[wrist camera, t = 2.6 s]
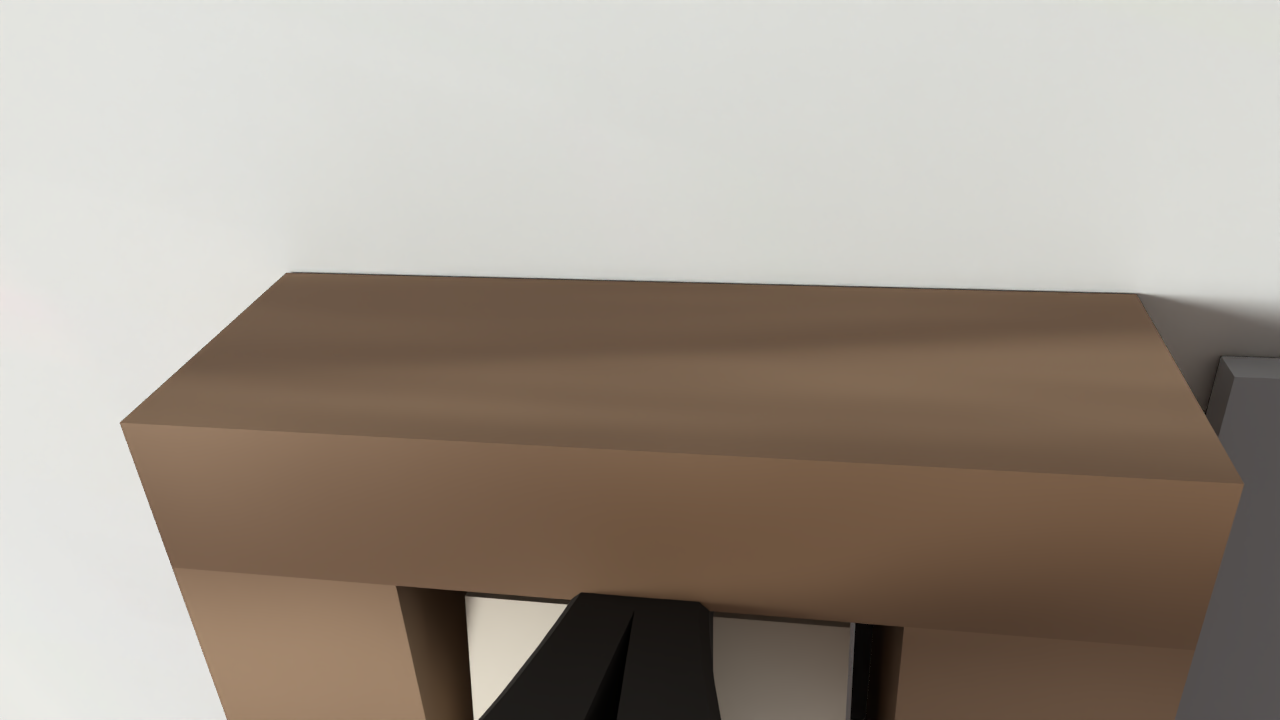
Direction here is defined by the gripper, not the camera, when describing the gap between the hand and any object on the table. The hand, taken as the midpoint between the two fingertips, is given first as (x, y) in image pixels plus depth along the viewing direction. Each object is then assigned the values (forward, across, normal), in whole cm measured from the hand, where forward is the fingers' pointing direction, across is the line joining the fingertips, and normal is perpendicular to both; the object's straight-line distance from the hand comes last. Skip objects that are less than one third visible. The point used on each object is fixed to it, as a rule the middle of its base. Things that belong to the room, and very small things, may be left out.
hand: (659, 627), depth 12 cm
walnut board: (+3, 0, +4) cm, 5 cm away
